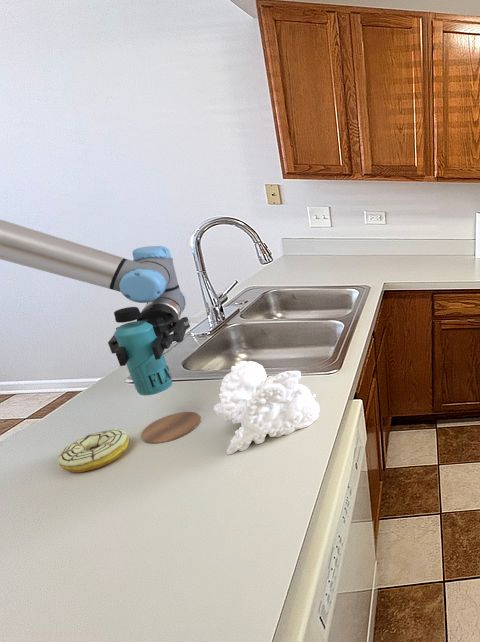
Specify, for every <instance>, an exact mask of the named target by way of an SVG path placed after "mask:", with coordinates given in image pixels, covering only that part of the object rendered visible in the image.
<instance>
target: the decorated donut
mask: <svg viewBox="0 0 480 642" xmlns="http://www.w3.org/2000/svg"><path fill="white" fill-rule="evenodd" d="M129 443H130V436H129V435H128V433H127V432H126V431H125V430H124V429H109V430H103V431H99V432H94V433H91V434H88V435H86V436H84V437H81V438H79V439H77V440H75V441H73V442H71V443H70V444H68V445H67V446H65V447H64V448H62V450H60V452H59V454H58V457H57V460H56V462H57V464H58V465H59V466H60V467H61V468H62V469H63V470H66V471H68V472H72V473H84V472H89V471H92V470H96V469H100V468H102V467H104V466H107V465H108V464H111V463H112V462H113V461H115V460H117V459H119V458H120V457H121V456H122V455H123V454H124V453H125V451H126V450H127V449H128V447H129Z"/></svg>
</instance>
